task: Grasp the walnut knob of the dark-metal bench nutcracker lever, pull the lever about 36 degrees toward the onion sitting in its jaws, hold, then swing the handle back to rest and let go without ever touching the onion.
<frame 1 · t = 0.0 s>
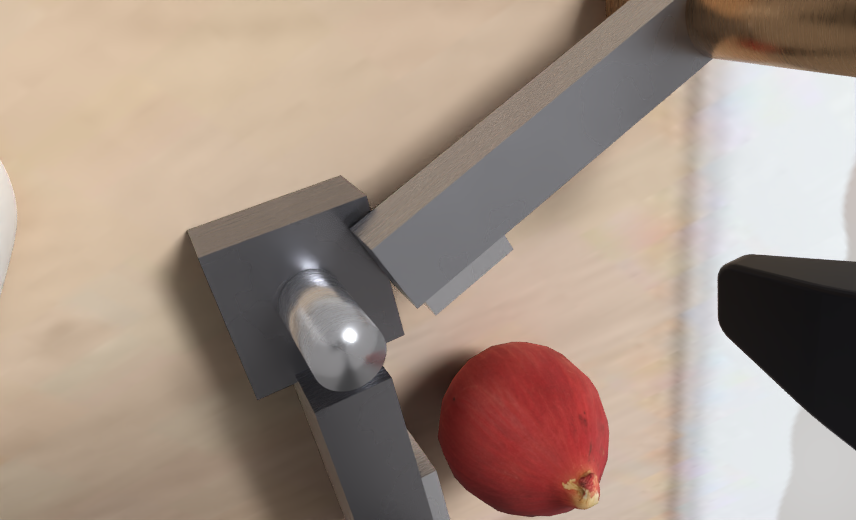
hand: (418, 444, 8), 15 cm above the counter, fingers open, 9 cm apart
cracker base: (290, 270, 22), on the counter
onion: (469, 372, 27), on the counter
lever: (609, 127, 19), point 6 cm above the counter, hinge at 0.0°
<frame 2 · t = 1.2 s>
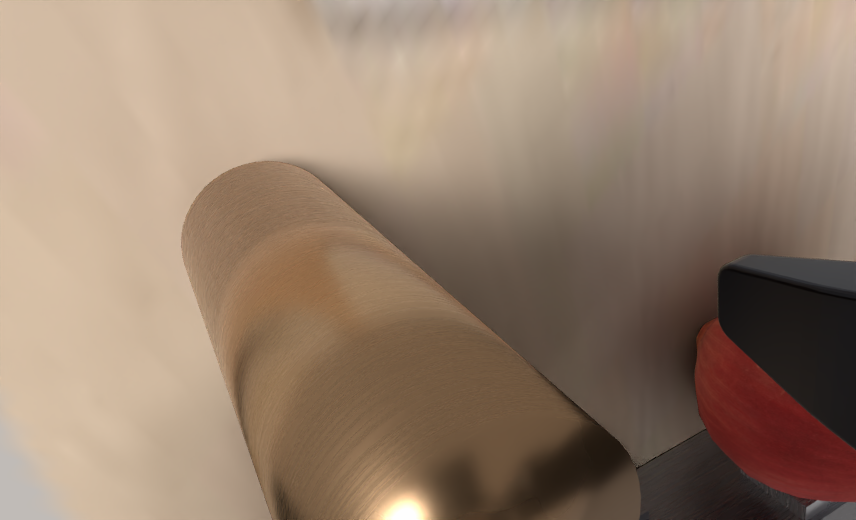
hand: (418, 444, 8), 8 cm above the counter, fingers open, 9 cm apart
onion: (702, 327, 22), on the counter
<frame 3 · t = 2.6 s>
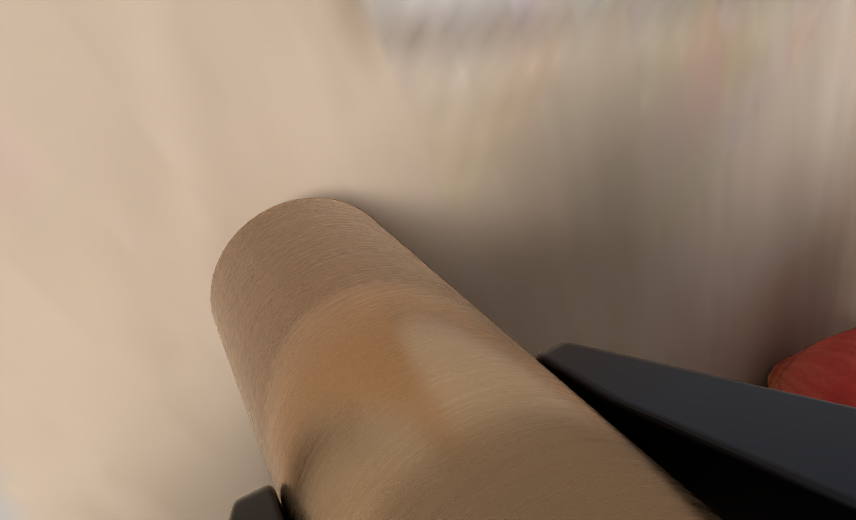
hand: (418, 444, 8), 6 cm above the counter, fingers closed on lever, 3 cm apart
onion: (772, 365, 20), on the counter
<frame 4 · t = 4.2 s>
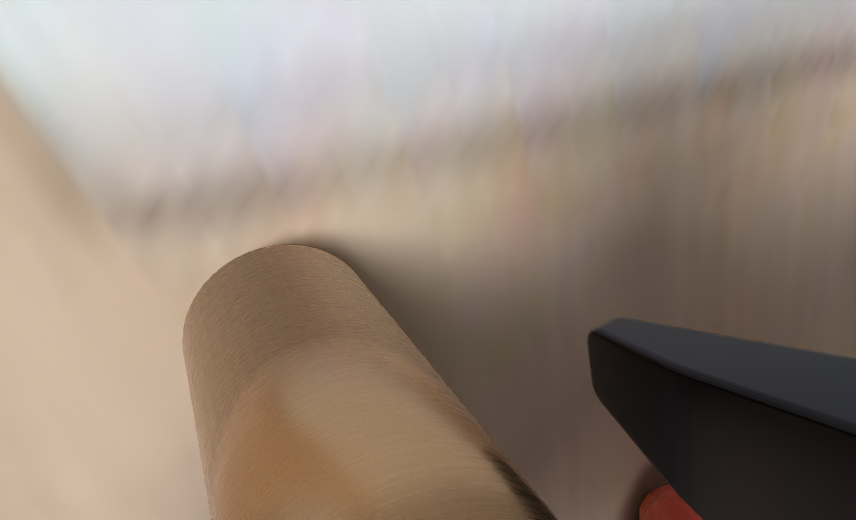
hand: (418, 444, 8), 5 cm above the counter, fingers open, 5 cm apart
onion: (649, 490, 19), on the counter
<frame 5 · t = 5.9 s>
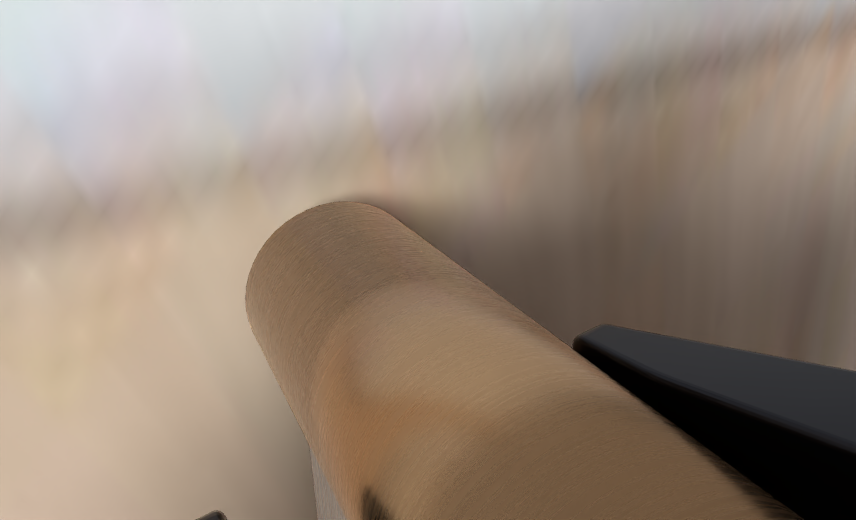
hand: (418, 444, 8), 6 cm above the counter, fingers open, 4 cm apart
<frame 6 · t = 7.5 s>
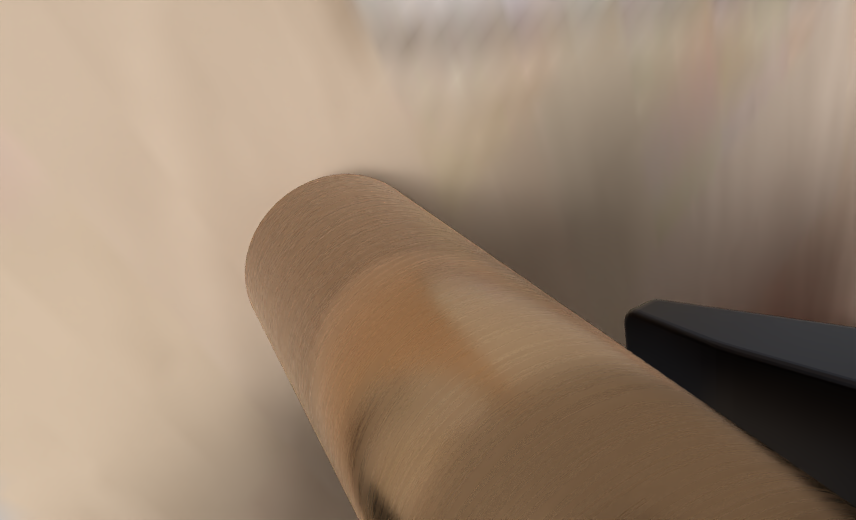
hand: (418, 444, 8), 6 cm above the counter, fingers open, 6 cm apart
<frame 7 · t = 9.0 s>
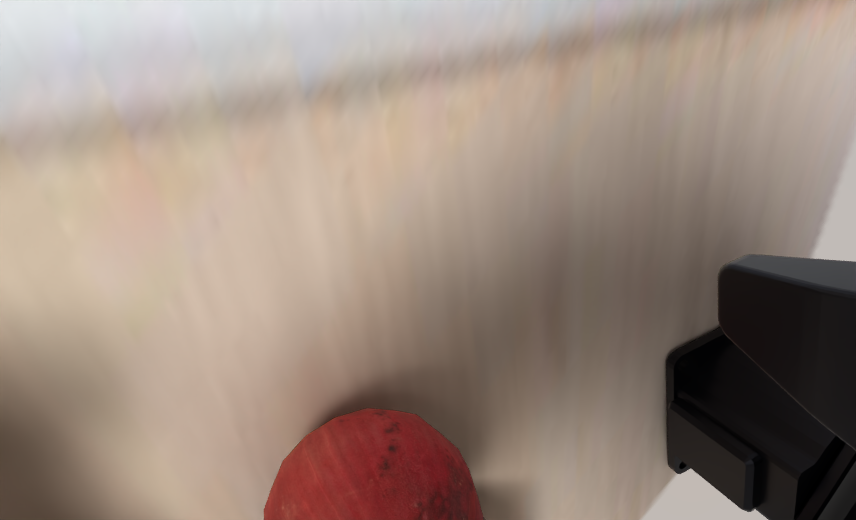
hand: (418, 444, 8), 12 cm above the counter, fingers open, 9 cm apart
onion: (329, 437, 22), on the counter
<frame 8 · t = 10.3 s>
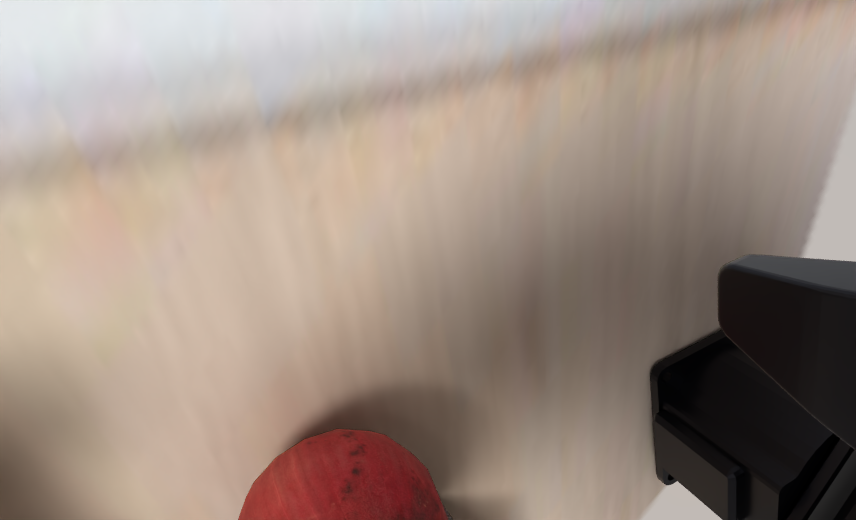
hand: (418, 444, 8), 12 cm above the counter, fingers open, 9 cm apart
onion: (306, 455, 22), on the counter
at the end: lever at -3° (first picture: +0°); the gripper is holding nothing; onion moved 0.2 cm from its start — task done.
